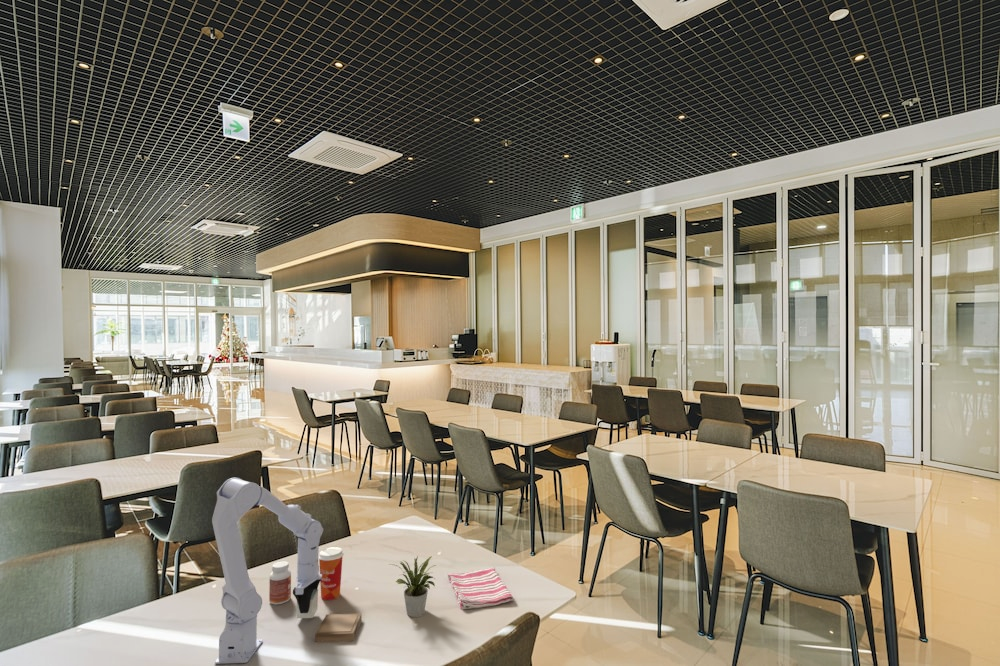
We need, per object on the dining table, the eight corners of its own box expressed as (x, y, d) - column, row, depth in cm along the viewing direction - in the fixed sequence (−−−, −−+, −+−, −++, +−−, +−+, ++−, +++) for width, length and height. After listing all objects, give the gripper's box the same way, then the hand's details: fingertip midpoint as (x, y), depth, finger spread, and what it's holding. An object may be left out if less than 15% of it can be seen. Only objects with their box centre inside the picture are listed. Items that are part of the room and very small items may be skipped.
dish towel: (460, 613, 149) (460, 601, 149) (446, 578, 172) (446, 568, 172) (514, 605, 154) (514, 593, 154) (494, 572, 176) (494, 562, 177)
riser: (353, 640, 134) (353, 632, 134) (315, 642, 134) (315, 633, 134) (361, 620, 144) (361, 613, 144) (326, 621, 144) (326, 613, 144)
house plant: (388, 630, 139) (388, 570, 140) (385, 605, 153) (386, 551, 153) (439, 622, 143) (439, 565, 144) (432, 599, 157) (432, 546, 157)
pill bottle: (292, 601, 155) (293, 565, 155) (271, 607, 152) (271, 570, 152) (288, 593, 160) (289, 558, 161) (267, 598, 157) (268, 563, 157)
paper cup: (312, 598, 157) (312, 553, 158) (331, 587, 164) (331, 544, 164) (330, 604, 153) (330, 558, 154) (348, 593, 160) (349, 549, 161)
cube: (312, 618, 143) (312, 596, 144) (296, 618, 143) (296, 597, 143) (317, 609, 148) (318, 589, 148) (301, 610, 148) (302, 589, 148)
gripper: (313, 571, 139) (313, 621, 139) (329, 550, 153) (328, 595, 153) (288, 571, 139) (287, 621, 138) (305, 550, 153) (305, 595, 153)
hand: (307, 607), depth 146 cm, fingers closed on cube, 4 cm apart
